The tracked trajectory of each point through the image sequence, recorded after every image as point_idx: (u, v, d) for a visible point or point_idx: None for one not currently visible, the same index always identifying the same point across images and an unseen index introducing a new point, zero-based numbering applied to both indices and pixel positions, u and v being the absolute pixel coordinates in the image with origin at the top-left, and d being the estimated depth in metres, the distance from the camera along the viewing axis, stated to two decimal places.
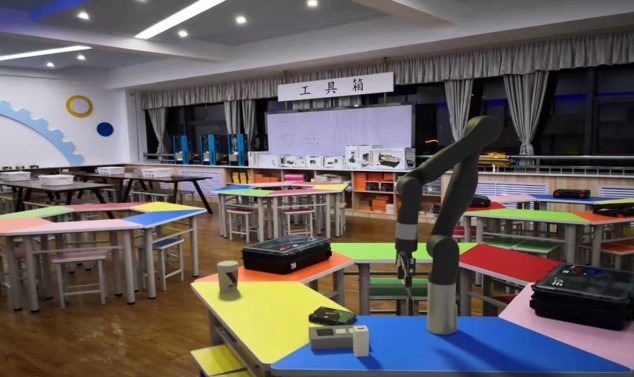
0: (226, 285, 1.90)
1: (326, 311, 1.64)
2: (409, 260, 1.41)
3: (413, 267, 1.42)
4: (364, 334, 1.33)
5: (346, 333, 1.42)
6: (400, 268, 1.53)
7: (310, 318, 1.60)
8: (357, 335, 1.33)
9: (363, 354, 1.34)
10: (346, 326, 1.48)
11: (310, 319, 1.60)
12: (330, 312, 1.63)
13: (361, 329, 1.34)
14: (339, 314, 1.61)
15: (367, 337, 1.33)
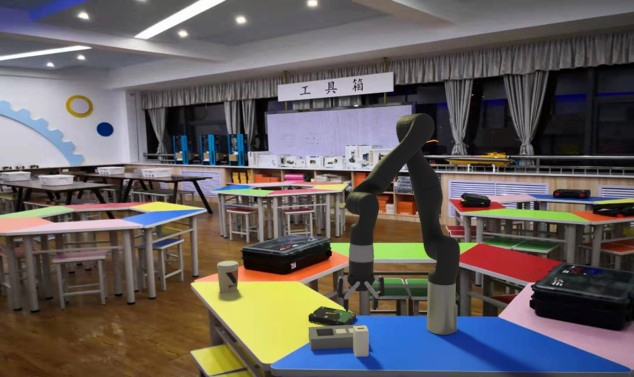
0: (226, 285, 1.90)
1: (326, 311, 1.64)
2: (383, 279, 1.33)
3: None
4: (364, 334, 1.33)
5: (346, 333, 1.42)
6: (347, 298, 1.33)
7: (310, 318, 1.60)
8: (357, 335, 1.33)
9: (363, 354, 1.34)
10: (346, 326, 1.48)
11: (310, 319, 1.60)
12: (330, 312, 1.63)
13: (361, 329, 1.34)
14: (339, 314, 1.61)
15: (367, 337, 1.33)
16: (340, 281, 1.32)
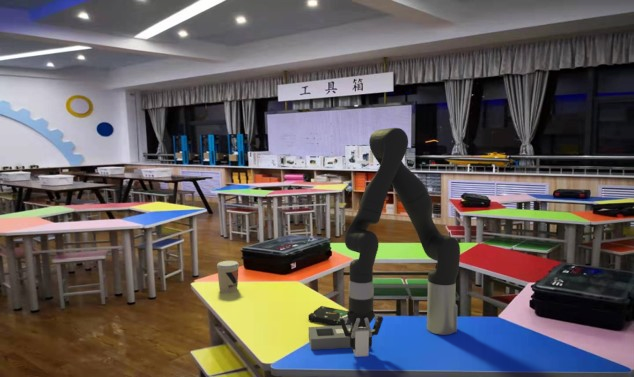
0: (226, 285, 1.90)
1: (326, 311, 1.64)
2: None
3: None
4: (364, 334, 1.33)
5: None
6: None
7: (310, 318, 1.60)
8: (357, 335, 1.33)
9: (363, 354, 1.34)
10: (346, 326, 1.48)
11: (310, 319, 1.60)
12: (330, 312, 1.63)
13: (361, 329, 1.34)
14: (339, 314, 1.61)
15: (367, 337, 1.33)
16: (341, 322, 1.33)
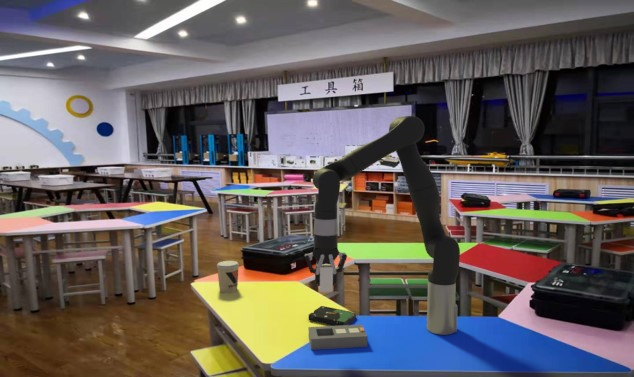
0: (226, 285, 1.90)
1: (326, 311, 1.64)
2: None
3: None
4: (328, 271, 1.38)
5: (346, 333, 1.42)
6: None
7: (310, 317, 1.60)
8: (322, 271, 1.38)
9: (327, 290, 1.39)
10: (346, 326, 1.48)
11: (310, 318, 1.61)
12: (330, 311, 1.63)
13: (326, 266, 1.39)
14: (339, 314, 1.61)
15: (331, 273, 1.38)
16: (306, 258, 1.38)
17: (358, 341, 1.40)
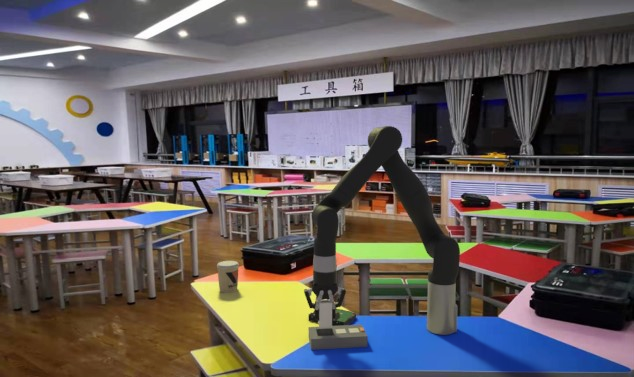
0: (226, 285, 1.90)
1: None
2: None
3: None
4: (327, 306, 1.40)
5: (346, 333, 1.42)
6: (318, 308, 1.42)
7: (310, 317, 1.61)
8: (321, 307, 1.40)
9: (327, 325, 1.41)
10: (346, 326, 1.48)
11: (310, 318, 1.61)
12: None
13: (325, 301, 1.41)
14: (339, 314, 1.61)
15: (330, 309, 1.40)
16: (306, 294, 1.40)
17: (358, 341, 1.40)
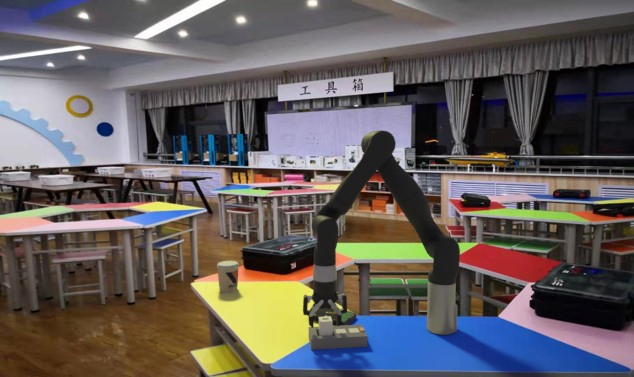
0: (226, 285, 1.90)
1: (326, 310, 1.64)
2: (346, 297, 1.41)
3: None
4: (328, 324, 1.41)
5: (346, 333, 1.42)
6: (312, 315, 1.42)
7: None
8: (321, 325, 1.40)
9: None
10: (346, 326, 1.48)
11: None
12: (330, 311, 1.64)
13: (325, 319, 1.42)
14: None
15: (331, 327, 1.41)
16: (305, 300, 1.40)
17: (358, 341, 1.40)
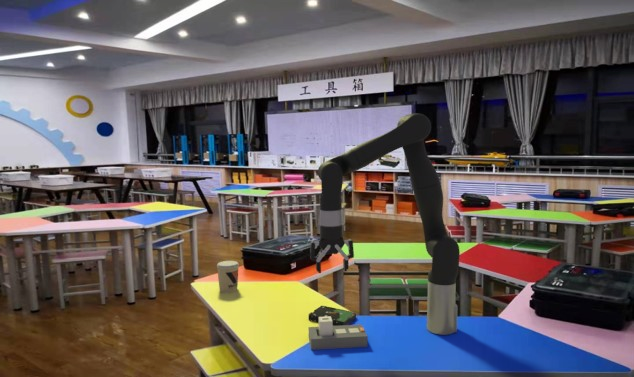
0: (226, 285, 1.90)
1: (326, 310, 1.65)
2: (352, 242, 1.44)
3: None
4: (328, 324, 1.41)
5: (346, 333, 1.42)
6: None
7: (310, 317, 1.61)
8: (321, 325, 1.40)
9: None
10: (346, 326, 1.48)
11: (310, 318, 1.61)
12: (330, 311, 1.64)
13: (325, 319, 1.42)
14: (339, 313, 1.62)
15: (331, 327, 1.41)
16: (312, 245, 1.42)
17: (358, 341, 1.40)
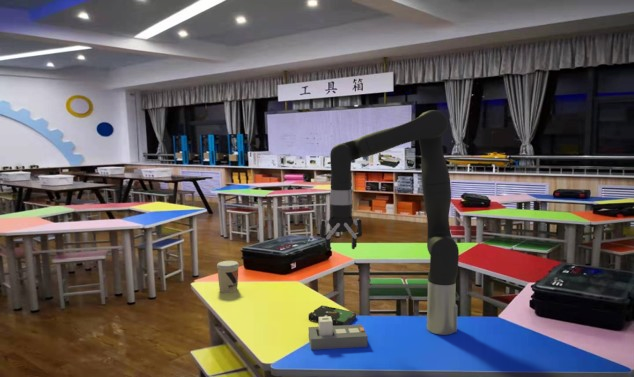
0: (226, 285, 1.90)
1: (326, 310, 1.65)
2: (360, 221, 1.51)
3: None
4: (328, 324, 1.41)
5: (346, 333, 1.42)
6: None
7: (310, 317, 1.61)
8: (321, 325, 1.40)
9: None
10: (346, 326, 1.48)
11: (310, 318, 1.61)
12: (331, 311, 1.64)
13: (325, 319, 1.42)
14: (339, 313, 1.62)
15: (331, 327, 1.41)
16: (322, 223, 1.49)
17: (358, 341, 1.40)
